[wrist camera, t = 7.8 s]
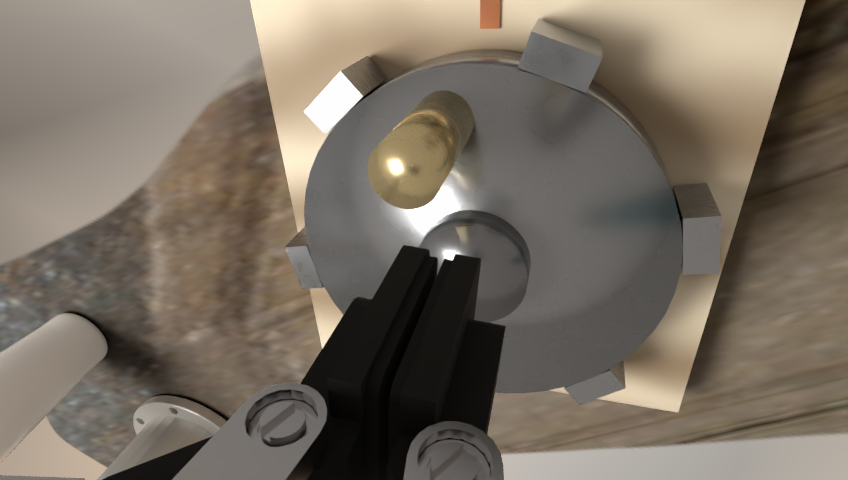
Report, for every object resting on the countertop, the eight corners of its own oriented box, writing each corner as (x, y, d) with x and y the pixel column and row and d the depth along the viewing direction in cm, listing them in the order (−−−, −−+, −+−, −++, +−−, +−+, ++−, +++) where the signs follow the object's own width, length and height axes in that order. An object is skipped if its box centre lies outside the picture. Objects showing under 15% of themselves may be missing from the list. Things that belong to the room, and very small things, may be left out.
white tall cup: (130, 344, 44) (-50, 508, 31) (102, 371, 47) (-69, 527, 35) (65, 290, 42) (-150, 440, 30) (42, 322, 46) (-159, 467, 34)
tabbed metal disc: (701, 365, 26) (740, 519, 19) (364, 359, 33) (305, 471, 26) (712, -20, 18) (785, 14, 11) (257, 79, 25) (131, 137, 18)
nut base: (673, 385, 30) (678, 414, 28) (335, 332, 36) (322, 352, 34) (795, -33, 19) (815, -29, 17) (271, -15, 24) (246, -10, 23)
